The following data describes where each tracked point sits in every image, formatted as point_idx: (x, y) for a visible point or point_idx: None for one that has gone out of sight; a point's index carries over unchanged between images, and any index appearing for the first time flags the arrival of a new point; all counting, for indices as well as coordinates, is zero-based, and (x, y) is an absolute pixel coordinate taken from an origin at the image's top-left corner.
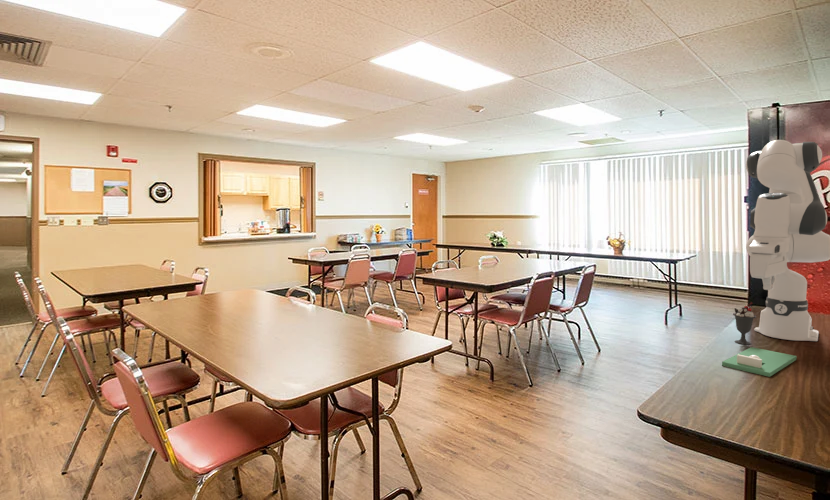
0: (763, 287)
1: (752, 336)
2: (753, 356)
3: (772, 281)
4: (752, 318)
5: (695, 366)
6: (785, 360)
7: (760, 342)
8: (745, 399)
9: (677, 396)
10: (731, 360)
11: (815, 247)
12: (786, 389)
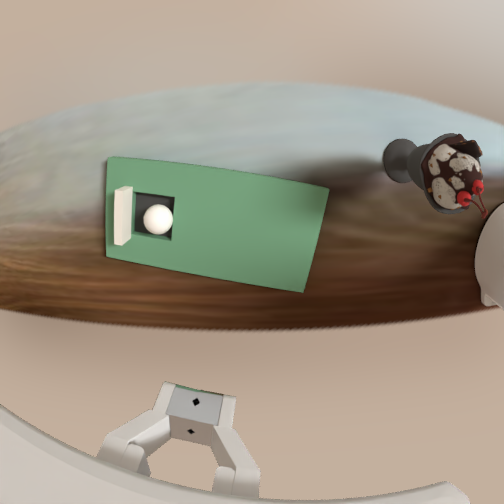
0: (161, 389)
1: None
2: (146, 221)
3: (217, 458)
4: (434, 202)
5: (70, 118)
6: (236, 275)
7: None
8: (2, 237)
9: None
10: (133, 171)
11: None
12: (71, 280)
